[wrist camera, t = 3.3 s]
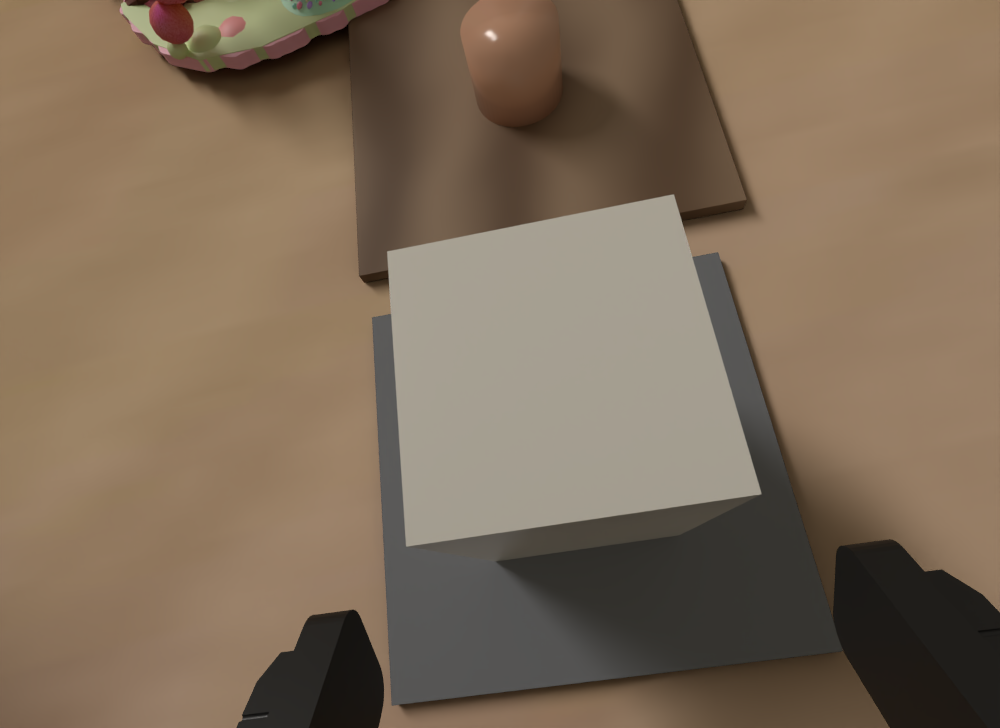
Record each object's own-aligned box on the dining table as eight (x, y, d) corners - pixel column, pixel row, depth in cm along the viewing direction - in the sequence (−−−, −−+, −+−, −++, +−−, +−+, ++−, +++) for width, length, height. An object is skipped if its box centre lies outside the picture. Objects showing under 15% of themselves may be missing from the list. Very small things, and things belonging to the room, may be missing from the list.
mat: (395, 702, 19) (391, 705, 18) (375, 321, 24) (372, 317, 24) (837, 649, 17) (842, 650, 17) (716, 257, 23) (718, 252, 22)
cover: (495, 561, 19) (405, 546, 10) (474, 390, 22) (387, 251, 12) (679, 535, 19) (761, 494, 10) (639, 362, 21) (673, 194, 12)
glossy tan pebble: (459, 104, 27) (440, 38, 23) (513, 47, 27) (502, -24, 24) (525, 140, 25) (516, 76, 22) (580, 80, 26) (579, 9, 23)
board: (364, 282, 25) (359, 275, 24) (352, 21, 31) (347, 11, 30) (743, 208, 23) (747, 199, 23) (653, -52, 29) (655, -64, 28)
